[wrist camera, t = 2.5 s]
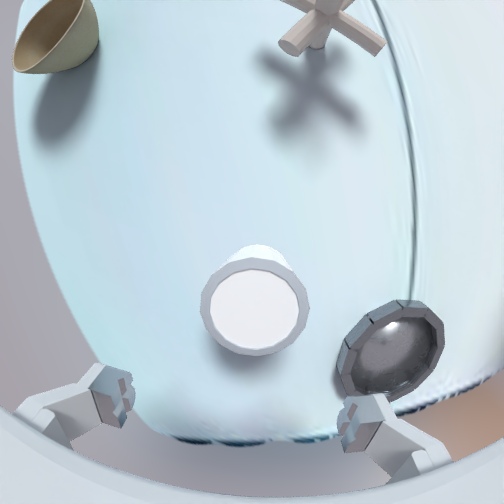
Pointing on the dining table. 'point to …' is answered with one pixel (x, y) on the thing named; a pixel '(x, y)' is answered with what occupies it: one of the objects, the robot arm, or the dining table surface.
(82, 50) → the tan bowl
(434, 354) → the bowl
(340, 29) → the pipe connector
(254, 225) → the dining table surface
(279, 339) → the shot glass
